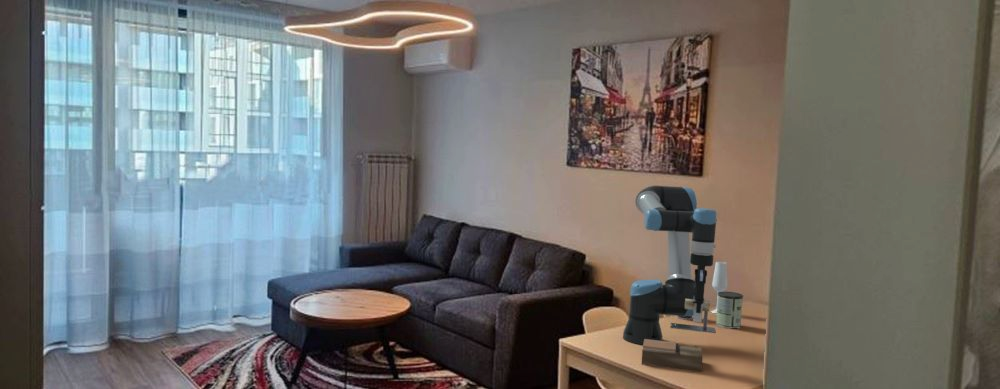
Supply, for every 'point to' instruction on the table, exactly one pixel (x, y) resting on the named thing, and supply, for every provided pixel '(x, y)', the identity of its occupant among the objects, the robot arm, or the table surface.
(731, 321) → the coffee can
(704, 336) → the table surface
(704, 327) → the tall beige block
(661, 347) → the tile
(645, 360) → the flip board
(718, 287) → the champagne flute
